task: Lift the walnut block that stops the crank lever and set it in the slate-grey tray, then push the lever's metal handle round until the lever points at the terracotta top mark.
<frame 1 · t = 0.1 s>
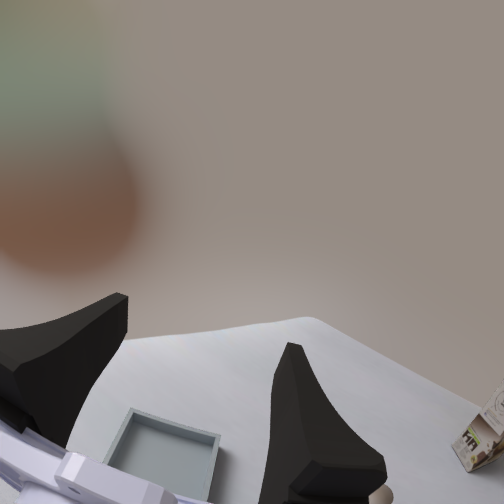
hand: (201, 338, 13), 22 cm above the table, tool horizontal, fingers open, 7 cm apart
tray: (161, 467, 25), on the table
coffee box: (475, 454, 31), on the table
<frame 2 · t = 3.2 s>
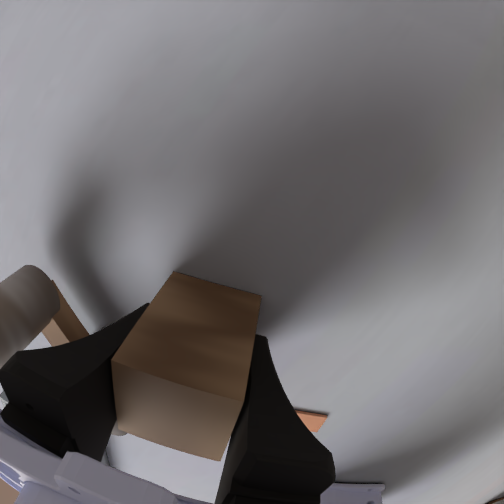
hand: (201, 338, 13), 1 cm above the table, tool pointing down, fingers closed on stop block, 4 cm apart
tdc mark: (298, 419, 17), on the table
crank lever: (58, 371, 12), point 4 cm above the table, hinge at 0.0°
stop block: (209, 319, 14), on the table, touching gripper
tin: (500, 497, 25), on the table
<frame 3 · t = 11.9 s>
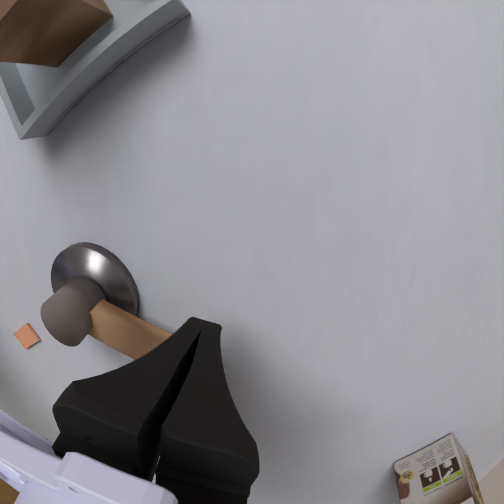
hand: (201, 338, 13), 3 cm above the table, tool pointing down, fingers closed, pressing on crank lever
tray: (73, 15, 11), on the table
crank base: (94, 289, 17), on the table
plant pot: (44, 462, 33), on the table
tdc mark: (27, 335, 20), on the table
crank lever: (117, 358, 14), point 4 cm above the table, hinge at -5.1°, touching gripper
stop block: (71, 19, 11), resting on tray
coffee box: (433, 459, 22), on the table
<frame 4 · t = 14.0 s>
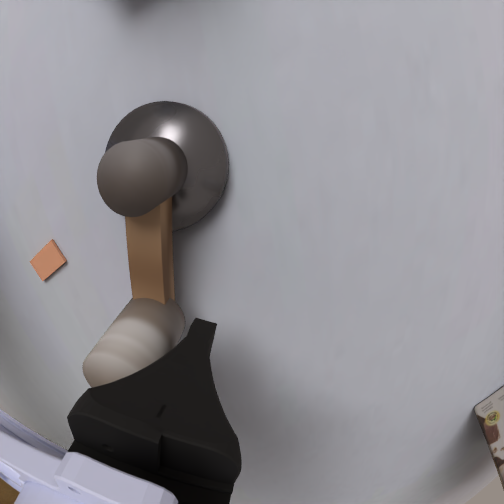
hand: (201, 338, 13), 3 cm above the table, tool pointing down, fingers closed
crank base: (165, 165, 14), on the table
plant pot: (50, 451, 30), on the table
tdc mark: (48, 260, 17), on the table
crank lever: (132, 270, 12), point 4 cm above the table, hinge at -74.9°, touching gripper
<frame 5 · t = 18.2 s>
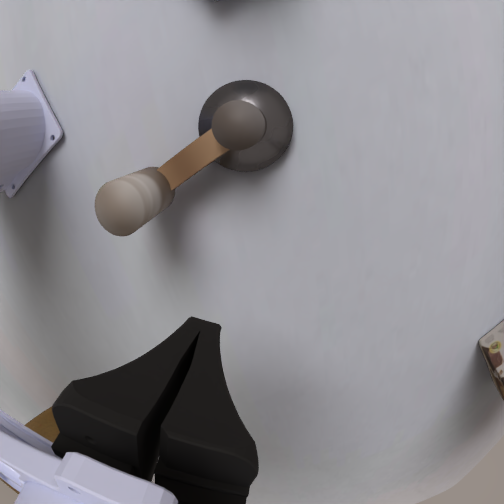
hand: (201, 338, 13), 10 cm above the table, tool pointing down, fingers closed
crank base: (246, 125, 19), on the table
plant pot: (82, 417, 36), on the table
crank lever: (184, 162, 17), point 4 cm above the table, hinge at -127.4°
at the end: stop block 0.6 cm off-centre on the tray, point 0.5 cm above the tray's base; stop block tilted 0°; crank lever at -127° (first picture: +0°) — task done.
